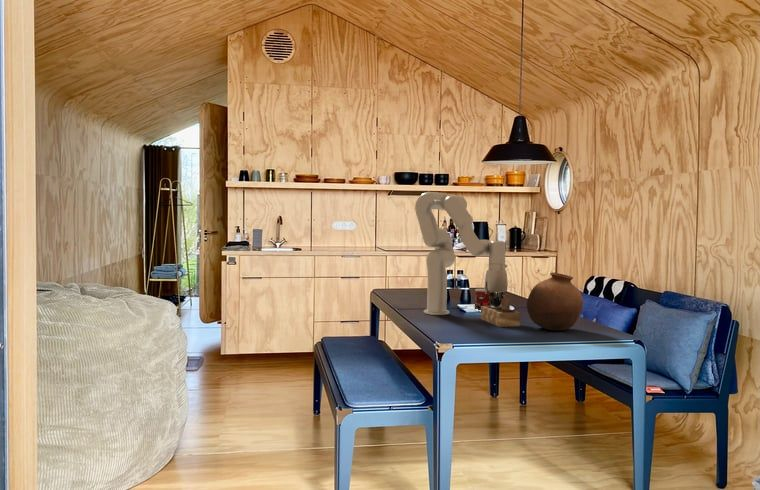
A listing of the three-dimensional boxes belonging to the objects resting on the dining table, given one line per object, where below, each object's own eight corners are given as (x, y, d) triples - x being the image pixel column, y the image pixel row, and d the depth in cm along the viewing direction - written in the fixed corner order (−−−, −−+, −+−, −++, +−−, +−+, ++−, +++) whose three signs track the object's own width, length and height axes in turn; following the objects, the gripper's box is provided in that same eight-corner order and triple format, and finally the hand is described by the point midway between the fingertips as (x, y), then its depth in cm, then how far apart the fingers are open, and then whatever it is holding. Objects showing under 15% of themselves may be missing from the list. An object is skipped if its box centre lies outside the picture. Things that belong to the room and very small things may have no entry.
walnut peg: (498, 312, 278) (499, 298, 278) (506, 312, 279) (507, 298, 279) (503, 314, 274) (503, 299, 274) (511, 314, 275) (511, 299, 275)
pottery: (517, 326, 274) (519, 270, 272) (560, 323, 282) (562, 269, 280) (548, 336, 252) (550, 276, 251) (593, 333, 261) (596, 275, 259)
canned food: (472, 309, 315) (472, 288, 314) (486, 309, 317) (486, 288, 316) (478, 312, 307) (479, 290, 307) (493, 312, 310) (493, 290, 309)
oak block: (480, 319, 289) (481, 305, 289) (499, 318, 292) (500, 304, 292) (499, 326, 271) (500, 312, 271) (519, 326, 274) (520, 311, 274)
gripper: (507, 266, 290) (506, 304, 291) (478, 266, 286) (477, 305, 287) (515, 267, 283) (514, 307, 284) (485, 268, 279) (484, 308, 280)
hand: (495, 306), depth 286 cm, fingers closed
